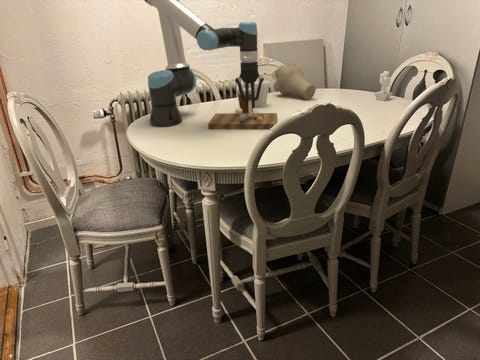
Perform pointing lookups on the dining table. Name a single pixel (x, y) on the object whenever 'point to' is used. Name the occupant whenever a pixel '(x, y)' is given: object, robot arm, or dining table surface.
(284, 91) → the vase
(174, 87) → the robot arm
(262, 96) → the foam cup
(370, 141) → the dining table surface
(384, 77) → the figurine
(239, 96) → the disposable coffee cup
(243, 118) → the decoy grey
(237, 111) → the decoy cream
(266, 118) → the board
